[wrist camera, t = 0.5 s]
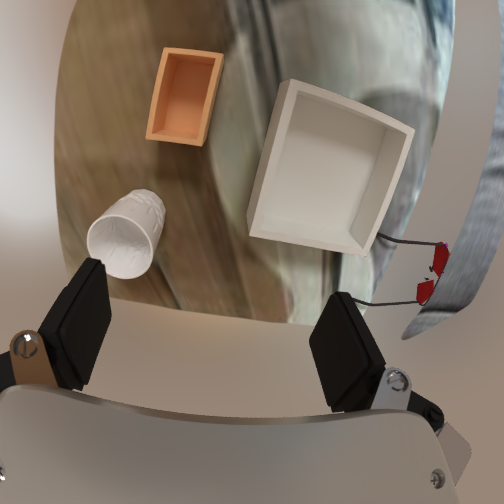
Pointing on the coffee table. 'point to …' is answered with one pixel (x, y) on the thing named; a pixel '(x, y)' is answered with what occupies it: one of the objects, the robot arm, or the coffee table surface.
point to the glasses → (426, 287)
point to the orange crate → (184, 96)
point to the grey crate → (326, 170)
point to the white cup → (128, 234)
